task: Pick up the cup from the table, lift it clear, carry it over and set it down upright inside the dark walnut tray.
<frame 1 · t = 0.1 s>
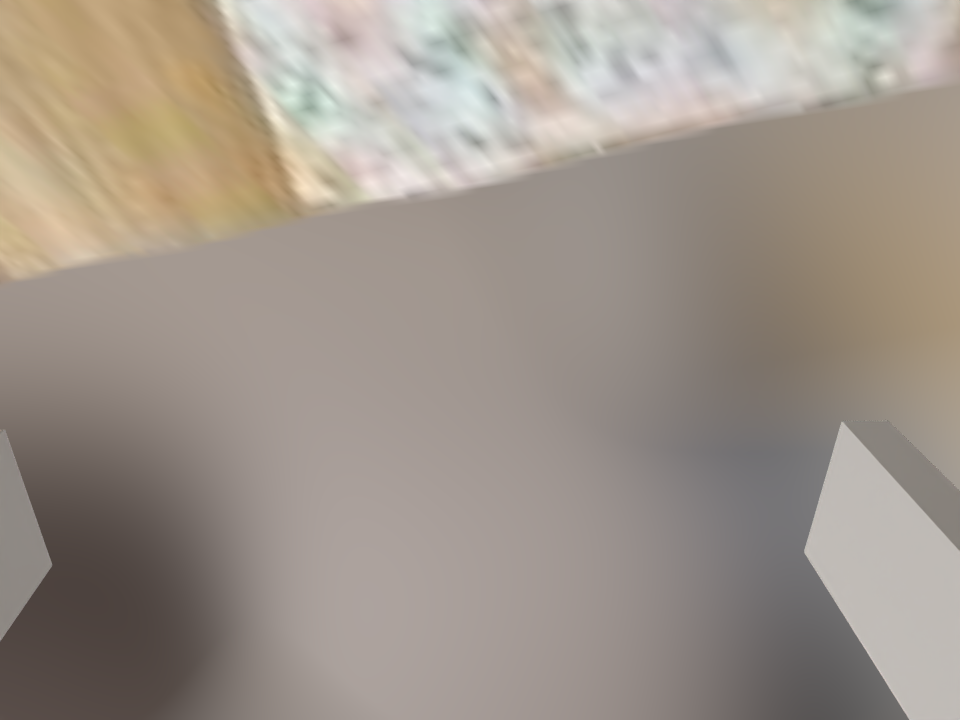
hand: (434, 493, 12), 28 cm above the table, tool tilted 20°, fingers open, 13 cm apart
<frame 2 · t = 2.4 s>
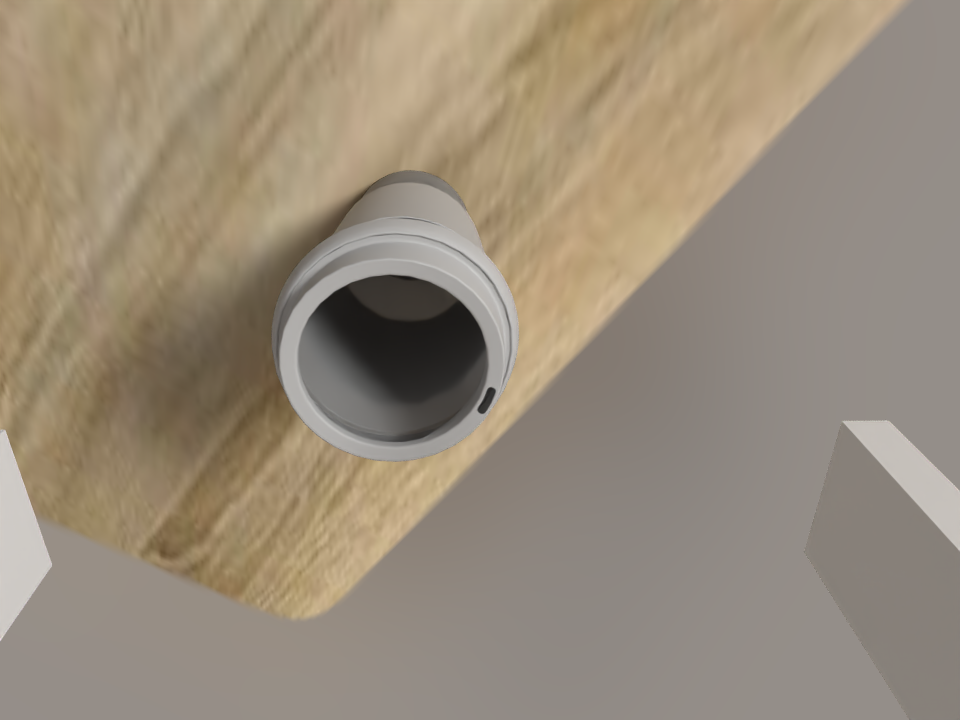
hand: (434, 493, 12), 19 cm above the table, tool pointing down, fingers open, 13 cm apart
cup: (412, 226, 29), on the table
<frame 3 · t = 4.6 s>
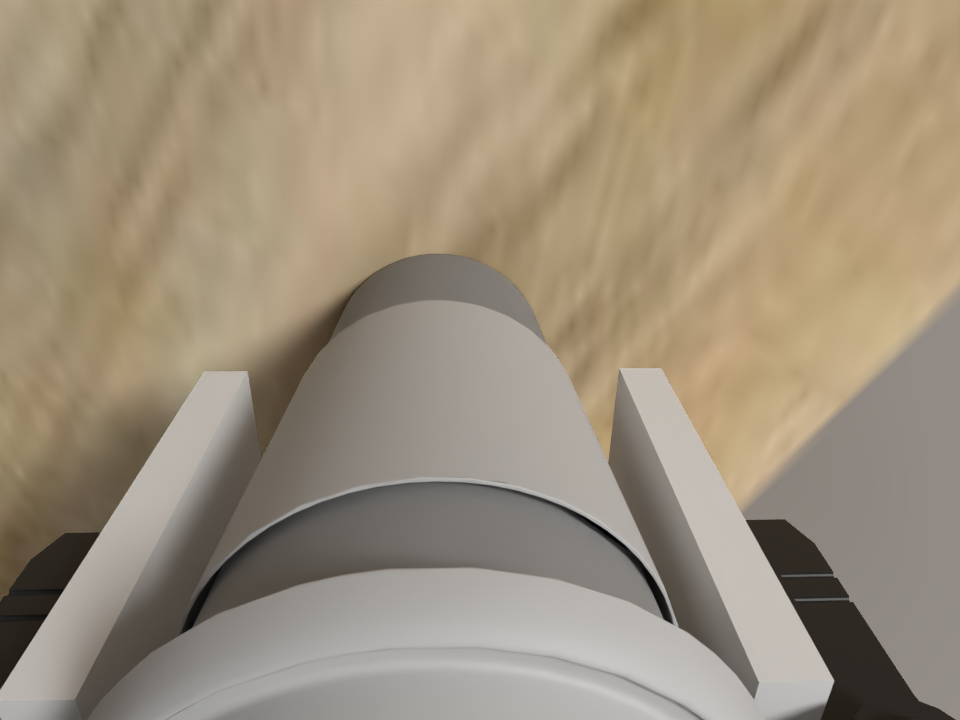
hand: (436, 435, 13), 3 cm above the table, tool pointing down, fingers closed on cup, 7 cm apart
cup: (439, 346, 16), on the table, touching gripper
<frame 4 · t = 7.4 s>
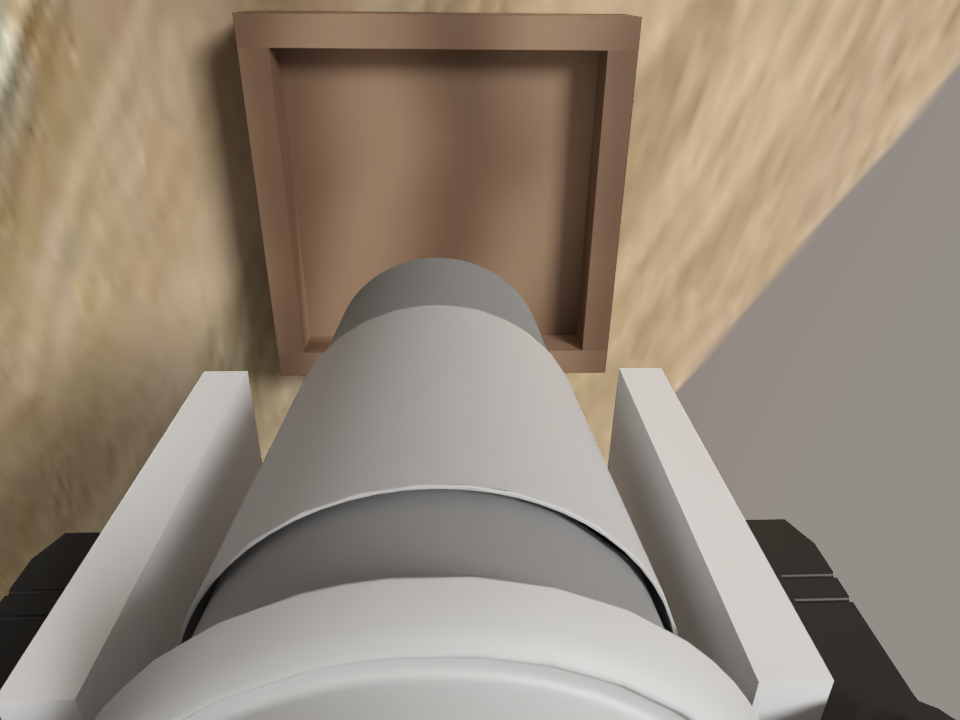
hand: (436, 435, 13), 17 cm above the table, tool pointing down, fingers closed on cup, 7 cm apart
cup: (439, 349, 17), point 13 cm above the table, touching gripper
tray: (442, 197, 28), on the table
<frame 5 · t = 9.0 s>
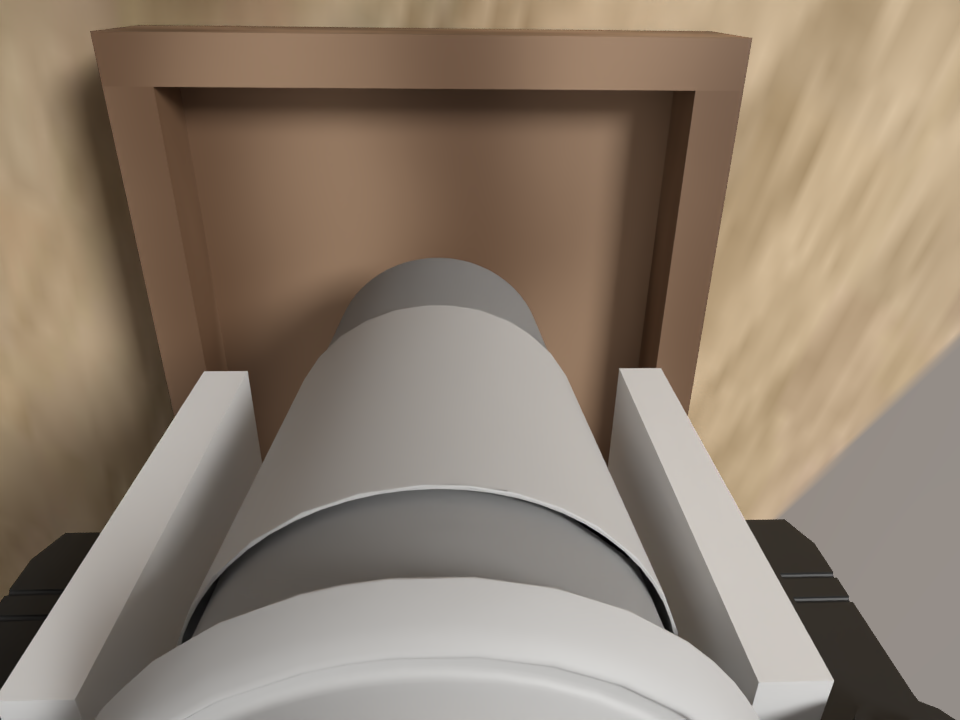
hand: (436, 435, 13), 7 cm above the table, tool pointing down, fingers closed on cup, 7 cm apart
cup: (439, 349, 17), point 3 cm above the table, touching gripper
tray: (435, 293, 19), on the table
when the fingers open (5 cm above the table, at t = 10.2 s): cup stays where it is, resting on tray.
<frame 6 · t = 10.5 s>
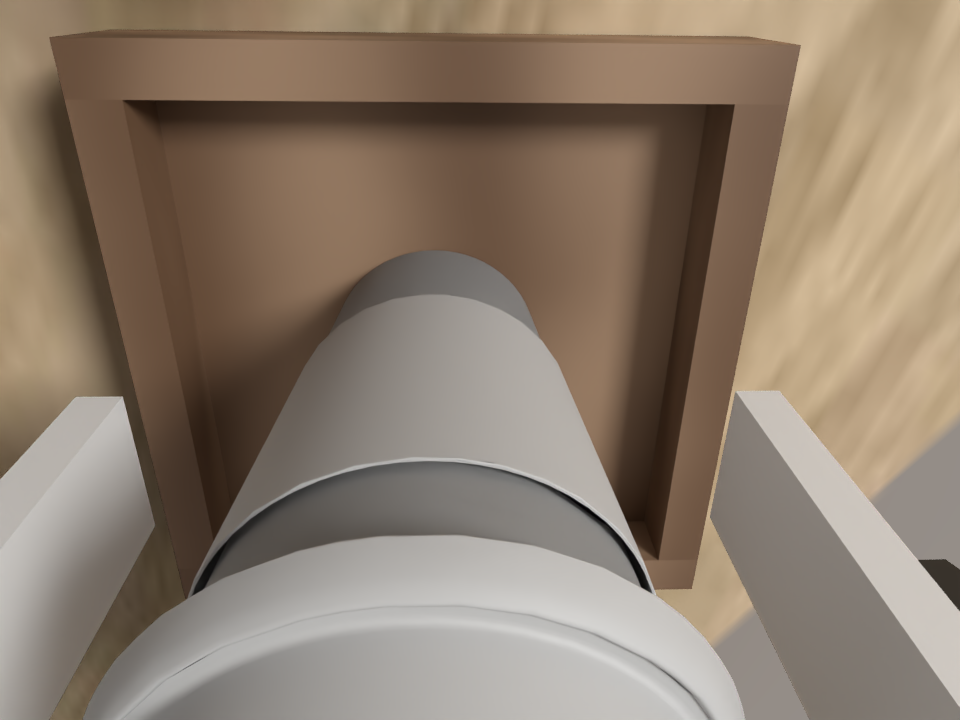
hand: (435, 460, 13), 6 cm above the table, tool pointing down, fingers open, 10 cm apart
cup: (436, 340, 17), point 1 cm above the table, touching tray
tray: (439, 323, 18), on the table
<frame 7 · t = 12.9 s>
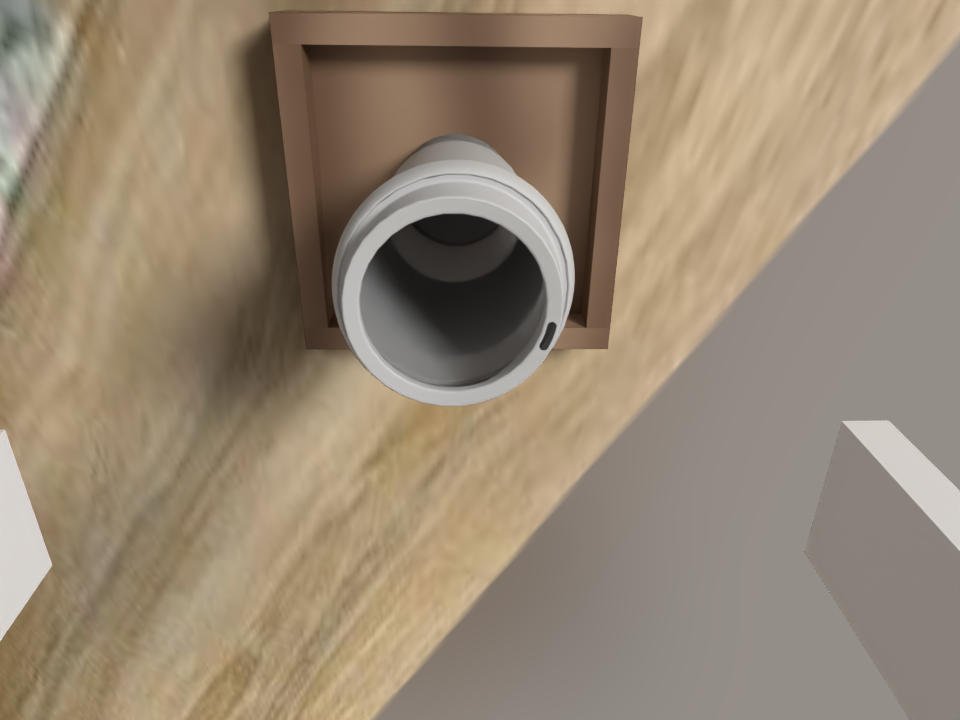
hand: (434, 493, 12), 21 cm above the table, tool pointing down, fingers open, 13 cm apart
cup: (455, 191, 29), point 1 cm above the table, touching tray
tray: (457, 184, 30), on the table
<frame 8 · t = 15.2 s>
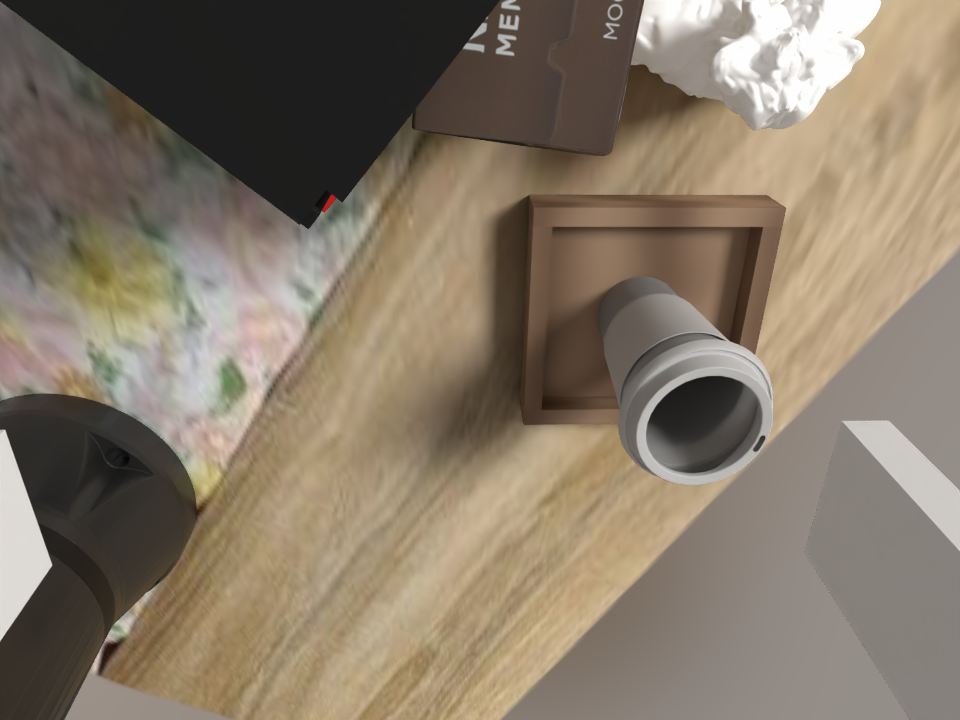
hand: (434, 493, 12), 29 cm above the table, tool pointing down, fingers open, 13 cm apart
white lumpy piece: (708, 21, 35), on the table
cup: (637, 312, 41), point 1 cm above the table, touching tray
tray: (635, 305, 42), on the table
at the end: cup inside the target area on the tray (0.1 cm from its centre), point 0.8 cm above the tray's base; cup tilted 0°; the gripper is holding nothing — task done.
